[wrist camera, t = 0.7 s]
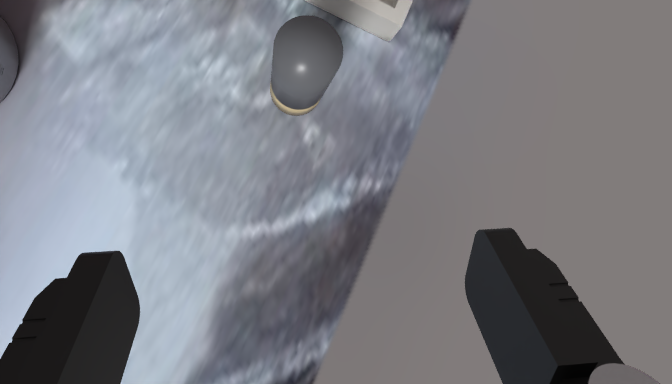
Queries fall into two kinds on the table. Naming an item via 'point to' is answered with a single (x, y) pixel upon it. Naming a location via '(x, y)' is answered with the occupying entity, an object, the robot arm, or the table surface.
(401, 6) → the walled box
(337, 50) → the dark grey cylinder
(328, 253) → the table surface
